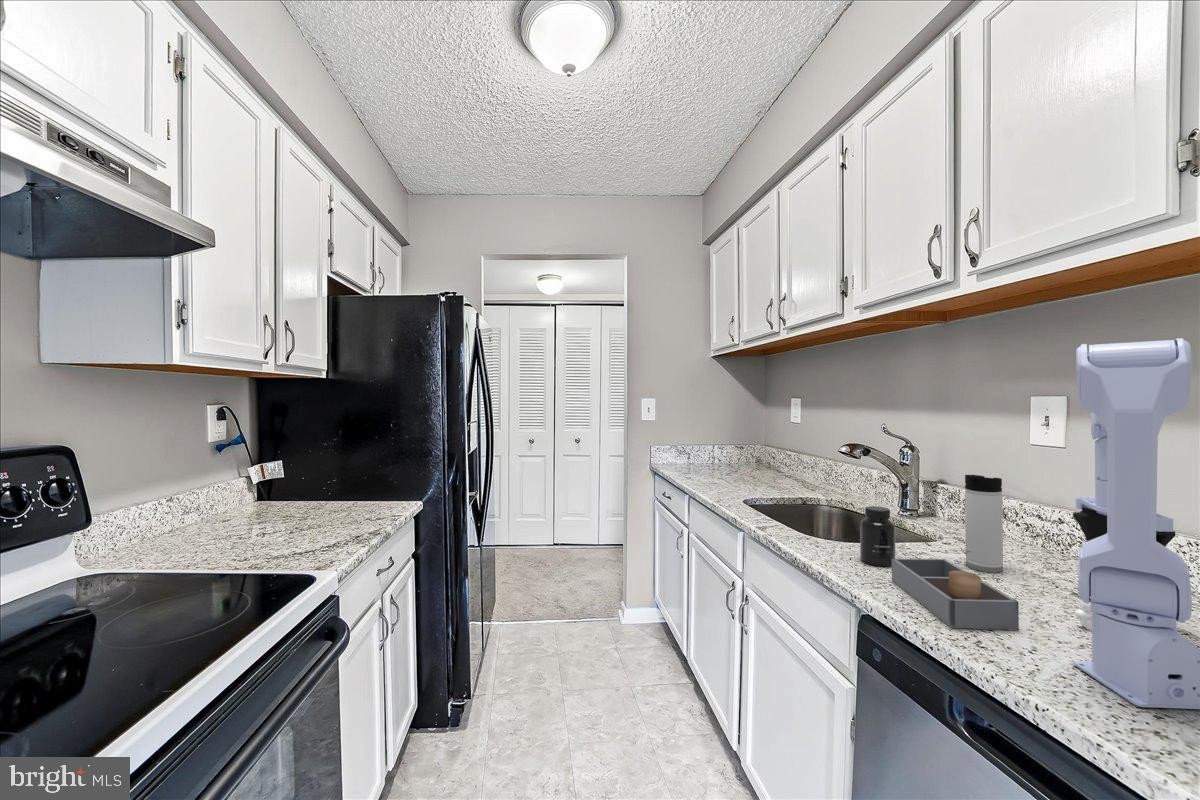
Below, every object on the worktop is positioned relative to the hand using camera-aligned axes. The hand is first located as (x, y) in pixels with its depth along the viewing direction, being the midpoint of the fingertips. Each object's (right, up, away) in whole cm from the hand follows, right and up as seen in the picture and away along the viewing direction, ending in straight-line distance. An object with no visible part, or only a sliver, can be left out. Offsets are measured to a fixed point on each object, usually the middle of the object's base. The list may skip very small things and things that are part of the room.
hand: (1120, 563), depth 81 cm
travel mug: (-3, -9, +25) cm, 27 cm away
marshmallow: (-6, -10, -2) cm, 12 cm away
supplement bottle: (-23, -10, +30) cm, 39 cm away
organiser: (-22, -10, +9) cm, 26 cm away
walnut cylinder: (-23, -9, +4) cm, 25 cm away
